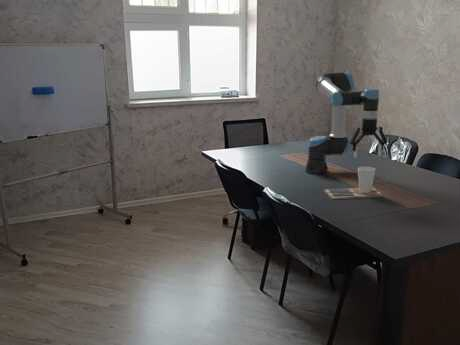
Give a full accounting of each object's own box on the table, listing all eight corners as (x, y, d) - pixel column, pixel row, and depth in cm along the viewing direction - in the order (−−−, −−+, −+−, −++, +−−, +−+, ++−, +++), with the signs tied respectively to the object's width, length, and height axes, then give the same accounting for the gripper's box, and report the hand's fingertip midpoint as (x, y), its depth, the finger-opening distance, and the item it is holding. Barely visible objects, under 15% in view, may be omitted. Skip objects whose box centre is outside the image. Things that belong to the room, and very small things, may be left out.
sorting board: (324, 190, 251) (324, 188, 251) (372, 188, 253) (373, 186, 253) (331, 199, 237) (331, 197, 236) (383, 196, 239) (383, 194, 238)
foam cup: (362, 194, 239) (363, 171, 236) (353, 189, 248) (354, 167, 245) (377, 192, 242) (378, 169, 238) (368, 187, 250) (369, 166, 247)
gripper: (349, 120, 229) (347, 158, 235) (395, 118, 231) (392, 157, 237) (345, 117, 236) (343, 155, 242) (389, 116, 238) (386, 153, 244)
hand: (367, 156), depth 240 cm, fingers open, 13 cm apart
